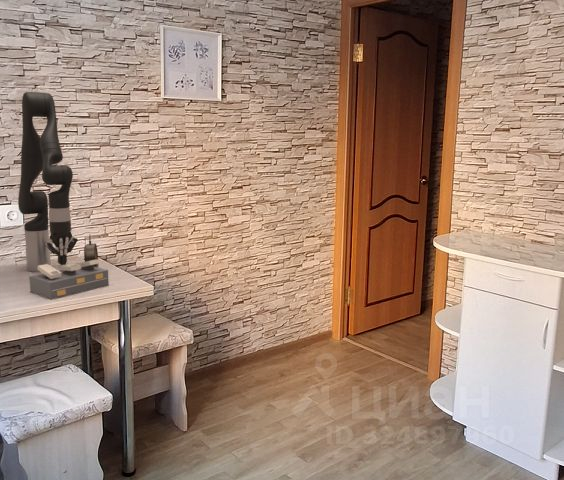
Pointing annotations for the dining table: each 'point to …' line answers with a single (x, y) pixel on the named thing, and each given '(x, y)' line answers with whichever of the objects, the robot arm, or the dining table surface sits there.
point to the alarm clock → (90, 252)
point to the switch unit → (69, 282)
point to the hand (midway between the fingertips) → (62, 264)
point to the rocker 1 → (49, 271)
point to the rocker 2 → (69, 267)
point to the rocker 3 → (89, 263)
